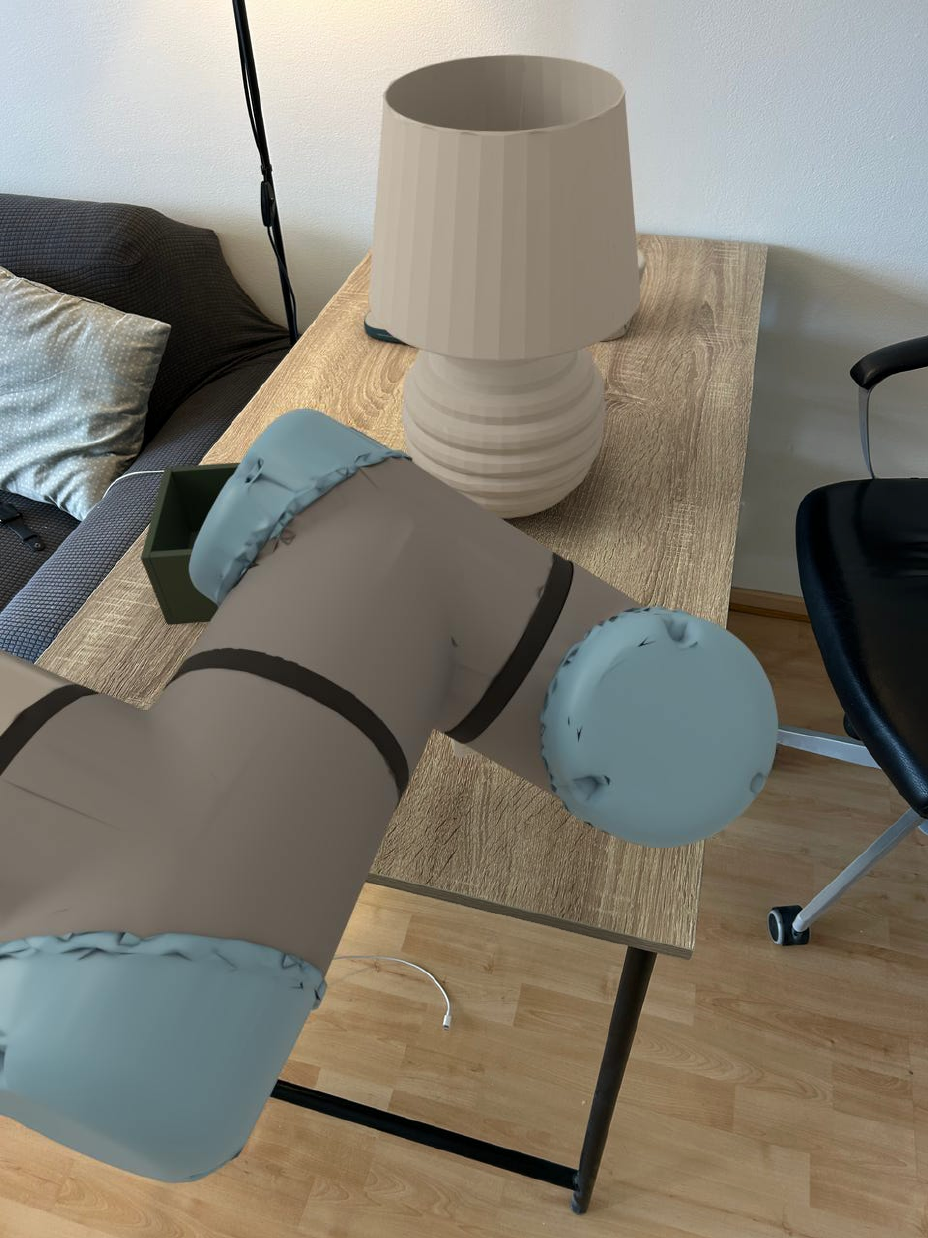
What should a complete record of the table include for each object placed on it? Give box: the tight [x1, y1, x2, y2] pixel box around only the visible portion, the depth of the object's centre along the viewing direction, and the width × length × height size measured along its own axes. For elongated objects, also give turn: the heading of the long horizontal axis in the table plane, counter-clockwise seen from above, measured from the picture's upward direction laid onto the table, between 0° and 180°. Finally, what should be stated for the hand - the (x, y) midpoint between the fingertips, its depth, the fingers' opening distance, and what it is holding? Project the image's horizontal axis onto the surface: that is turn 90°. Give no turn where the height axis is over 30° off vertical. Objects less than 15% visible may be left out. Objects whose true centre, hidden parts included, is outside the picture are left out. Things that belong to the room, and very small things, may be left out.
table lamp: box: [367, 53, 641, 520], centre depth 86 cm, size 25×25×40 cm
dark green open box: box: [140, 461, 241, 625], centre depth 89 cm, size 14×14×9 cm
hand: (473, 662), depth 65 cm, fingers closed on cosmetic box, 6 cm apart
